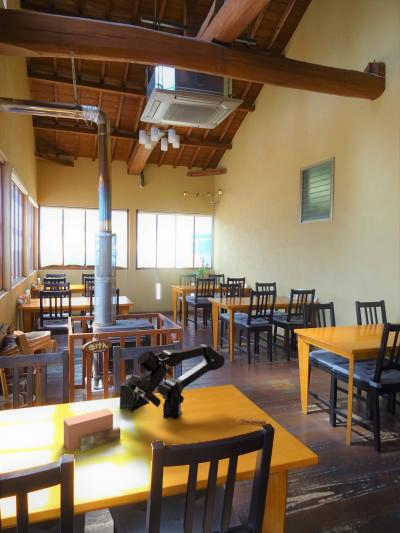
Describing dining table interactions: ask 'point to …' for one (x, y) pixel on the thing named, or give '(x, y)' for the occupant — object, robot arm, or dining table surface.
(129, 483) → the dining table surface
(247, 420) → the chocolate bar
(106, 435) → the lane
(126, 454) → the dining table surface
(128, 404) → the small box
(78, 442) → the block
